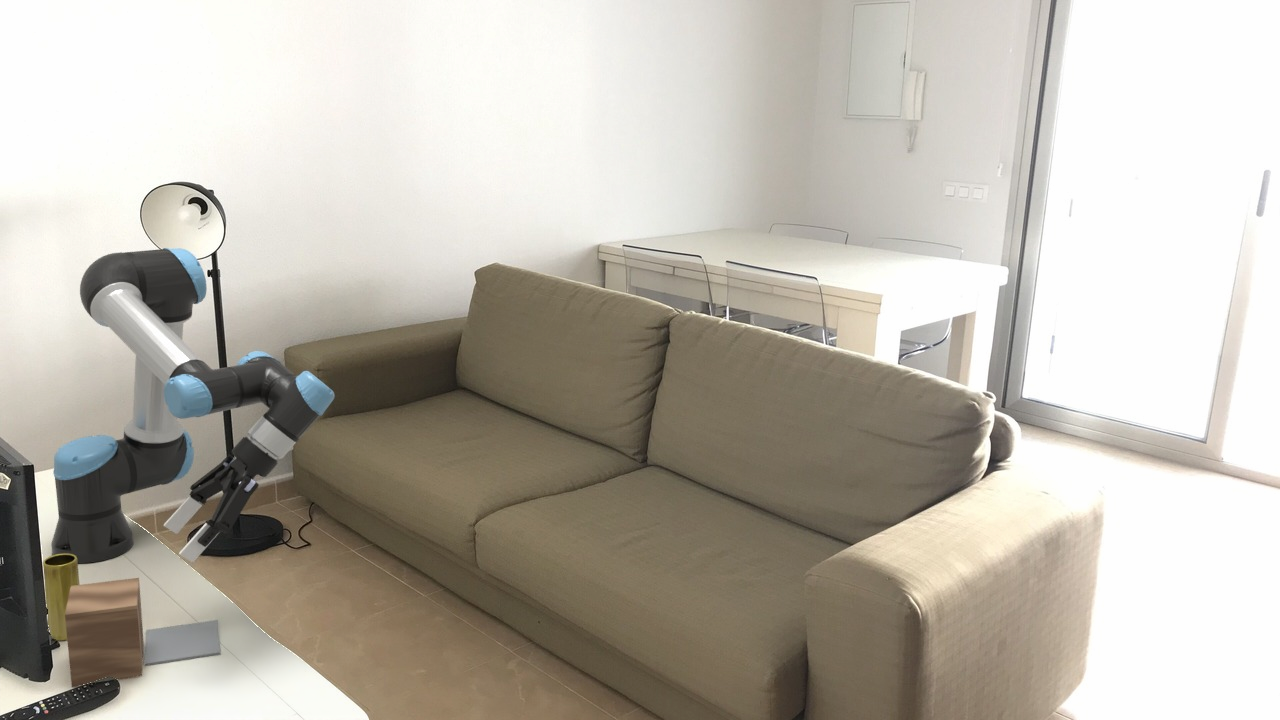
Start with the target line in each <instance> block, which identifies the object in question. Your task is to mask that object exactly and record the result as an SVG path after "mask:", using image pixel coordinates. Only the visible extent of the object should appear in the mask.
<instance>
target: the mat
mask: <svg viewBox="0 0 1280 720" xmlns="http://www.w3.org/2000/svg"><path fill="white" fill-rule="evenodd" d="M219 631H220V630H219V621H218V619H214V620H206V621H199V622H191V623H185V624H178V625H171V626H162V627H156V628H150V629H149V628H148V629H146V630H145V643H144V644H145V645H144V647H145V648H144V650H145V651H144V662H143V665H144V667H147V666H151V665H152V666H154V665H160V664H165V663H171V662H172V663H173V662H180V661H185V660H192V659H197V658H198V659H199V658H204V657H206V658H207V657H211V656H218V655H221V646H220V645H221V644H220V632H219Z"/></svg>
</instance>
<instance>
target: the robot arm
mask: <svg viewBox="0 0 1280 720" xmlns="http://www.w3.org/2000/svg"><path fill="white" fill-rule="evenodd" d="M205 275H206V274H205V272H204V269H203V267H202V266H201V263H200V261H199V260H198V258H197V257H196V255H194V254H193V253H192V252H191V251H189V250H187V249H186V248H181V247H180V248H168V247H164V248H161V249H151V250H150V249H149V250H139V251H138V250H137V251H127V252H121V251H120V252H112V253H108V254H105V255H102V256H101V257H99V258H97V259H96V260H95V261H93V262H92V263H91V264H90V265H89V266H88V268H87V269H86V270H85V272H84V273H83V276H82V278H81V281H80V284H79V296H80V299H81V300H80V301H81V303H82V305H83V308H84V310H85V311H86V312H87V314H88V315H89V317H91V318H92V320H94V322H96V323H97V324H98V325H100V326H103V327H106V328H109V329H110V330H111V331H112V332H113V333H114V334H115V335H116V336H117V337H118V338H119V339H120V340H121V341H122V343H124V344H125V345H126V346H127V347H128V349H130V350H131V351H132V352H133V353H134V355H135V363H134V364H135V365H134V366H135V367H134V381H133V382H134V384H133V385H134V387H133V400H132V401H133V404H132V405H133V406H132V419H131V420H129V421H128V422H127V423H125V424H124V429H123V438H121V439H115V438H114V437H113V436H110V435H106V434H100V435H99V434H98V435H94V436H93V435H90V436H89V435H88V436H83V437H80V438H76V439H74V440H71V441H69V442H67V443H65V444H64V445H62V446H61V447H60V448H58V450H57V451H56V452H55V453H54V457H53V467H54V468H53V476H54V481H55V482H54V483H55V491H56V501H57V512H58V519H57V523H56V526H55V530H54V534H53V536H52V537H53V538H52V540H51V552H52V555H51V556H53V555H56V554H64V553H68V554H73V555H75V556H76V557H77V561H78V564H88V563H89V564H91V563H97V562H102V561H106V560H111V559H113V558H116V557H118V556H120V555H122V554H125V553H126V552H127V551H129V550H131V548H132V546H133V545H134V534H133V531H132V529H131V527H130V524H129V523H128V521H127V519H126V516H125V514H124V512H123V510H122V500H121V499H122V497H121V496H124V495H127V494H131V493H134V492H138V491H142V490H145V489H149V488H153V487H157V486H163V485H164V486H165V485H168V484H170V483H172V482H175V481H178V480H181V479H182V478H183V479H184V477H186V476H187V474H189V472H190V470H191V468H192V467H193V462H194V452H195V450H194V449H195V448H194V447H193V446H192V444H193V441H192V438H191V436H190V434H189V433H188V431H187V430H185V429H184V426H183V425H182V423H181V422H179V421H178V419H183V420H186V419H190V418H201V417H205V416H207V415H212V414H216V413H221V412H225V411H228V410H229V411H230V410H233V409H237V408H243V407H248V406H253V405H256V404H263V405H264V406H266V407H267V408H268V410H266V412H265V413H264V414H263V415H262V416H261V417H259V419H258V420H257V421H256V422H255V423H254V424H253V426H252V427H250V429H249V430H248V431H247V434H248V436H243V437H242V438H241V439H240V440H239V441H238V443H236V445H235V446H234V447H233V448H232V450H231V453H232V455H233V456H232V455H231V454H229V455H227V456H226V457H225V458H224V459H223V460H222V461H221V462H220V463H219V464H217V465H216V466H214V468H212V469H211V470H210V471H208V472H207V473H205V474H204V475H203V476H202V477H201V478H199V479H198V480H197V481H196V482H193V484H192V485H190V487H189V489H190V490H191V491H190V493H189V496H188V497H187V498H186V499H185V501H183V502H182V503H181V505H180V506H178V508H177V509H176V510H175V511H174V512H173V513H172V515H171V516H170V517H169V518H168V519H167V520H166V521H165V522H164V524H163V527H165V528H166V529H168V530H169V531H171V532H172V533H174V534H176V535H177V534H178V533H179V532H180V531H181V530H182V529H183V527H185V525H186V524H187V523H188V522H189V521H190V520H191V519H192V518H193V517H194V515H195V514H196V513H197V512H198V511H199V510H200V509H201V507H202V506H203V505H206V503H207V500H208V499H210V498H212V497H213V496H215V495H217V494H219V493H220V492H222V495H221V498H220V500H219V502H218V504H217V506H216V509H215V511H214V513H213V515H212V517H211V518H210V519H207V520H205V523H204V524H203V526H201V528H199V530H198V531H197V532H196V533H195V534H194V535H193V537H191V539H190V540H189V541H188V542H187V543H186V545H184V546H183V548H182V549H181V550H180V551H179V553H178V554H179V555H180V556H181V557H183V558H185V560H187V561H188V562H190V563H192V564H193V563H194V562H195V561H196V560H197V559H198V557H199V556H200V555H201V554H203V552H204V551H205V550H206V549H207V547H209V545H210V544H211V543H212V542H213V541H214V539H215V538H217V537H218V535H219V534H220V533H224V534H228V533H229V532H230V531H231V530H232V528H233V526H234V525H235V523H236V521H237V519H238V518H239V516H240V514H241V513H242V511H243V510H244V508H245V506H246V505H247V503H248V501H249V500H250V498H251V496H252V495H253V494H254V492H256V490H257V489H258V487H259V485H260V484H259V483H258V482H256V481H255V480H254V479H255V477H256V476H258V475H259V476H260V477H261V478H266V477H267V476H268V475H269V474H270V473H271V472H272V471H273V470H274V469H275V468H276V466H277V465H278V464H279V463H278V460H277V459H280V460H281V459H283V458H284V457H285V456H286V455H287V454H288V453H289V451H293V450H294V445H296V443H297V442H298V441H299V440H300V439H301V438H302V437H303V435H304V434H305V433H306V432H307V431H308V429H310V428H311V427H312V426H313V425H314V424H315V423H316V422H317V420H319V418H320V417H322V416H323V414H324V413H325V411H326V410H327V409H328V408H329V406H330V405H331V403H332V402H333V401H334V399H335V397H336V396H335V392H334V391H333V390H332V389H331V388H330V387H329V386H328V385H327V384H325V383H324V382H323V381H321V380H320V379H319V378H318V377H316V375H314V374H313V373H311V372H310V371H309V370H303V371H302V372H301V373H300V374H299V375H296V374H295V373H293V371H291V370H290V369H288V368H287V367H286V366H285V365H284V364H283V363H282V361H280V360H279V359H277V358H275V357H273V356H272V355H270V354H269V353H267V352H265V351H261V350H256V351H251V352H248V354H246V355H244V356H242V357H241V358H240V359H239V361H238V362H237V364H236V365H232V366H231V365H230V366H227V367H221V368H215V369H212V368H211V367H210V366H209V365H208V364H207V363H206V362H205V361H203V360H202V358H200V357H199V355H198V354H196V353H195V351H193V349H192V348H190V347H189V345H188V344H186V343H185V342H184V341H183V336H184V335H183V334H184V333H183V332H184V323H186V322H187V321H189V320H190V319H191V318H192V315H193V306H194V305H198V304H199V303H201V302H202V301H204V300H205V298H206V296H207V280H206V276H205Z"/></svg>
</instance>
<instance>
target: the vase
mask: <svg viewBox="0 0 1280 720" xmlns="http://www.w3.org/2000/svg"><path fill="white" fill-rule="evenodd" d="M42 565H43V566H42V567H43V576H44V577H43V578H44V589H45V590H44V591H45V593H44V594H45V605H46V604H47V609H48V625H49V629H50V634H51V636H52V638H54V639H56V640H55V641H61V642H62V641H67V631H66V620H65V612H66V607H67V602H68V598H69V593H70V588H71V586H75V585H80V576H79V563H78V561H77V557H76V556H75V555H73V554H68V553H64V554H56V555H50V556H48V557H46V558H44V559H43V562H42Z"/></svg>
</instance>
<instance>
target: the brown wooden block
mask: <svg viewBox="0 0 1280 720" xmlns="http://www.w3.org/2000/svg"><path fill="white" fill-rule="evenodd" d="M65 620H66V631H67V640H66V641H67V648H68V649H67V650H68V652H67V653H68V663H69V671H70V672H69V673H70V674H69V675H70V682H71V683H70V684H71V688H73V687H80V686H79V685H82V686H84V685H83V684H87V683H90V682H94V681H96V680H99V679H102V678H105V677H114V678H116V679H118V680H124V679H125V680H127V679H132V678H138V677H139V678H140V677H143V669H144V667H143V665H144V652H145V651H144V650H145V648H144V647H145V645H144V644H145V643H144V631H143V629H144V628H143V616H142V603H141V588H140V578H139V577H134V578H125V579H117V580H109V581H100V582H93V583H86V584H85V583H84V584H79V585H75V586H71V588H70V593H69V598H68V602H67V607H66V612H65ZM118 680H117V681H118Z"/></svg>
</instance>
